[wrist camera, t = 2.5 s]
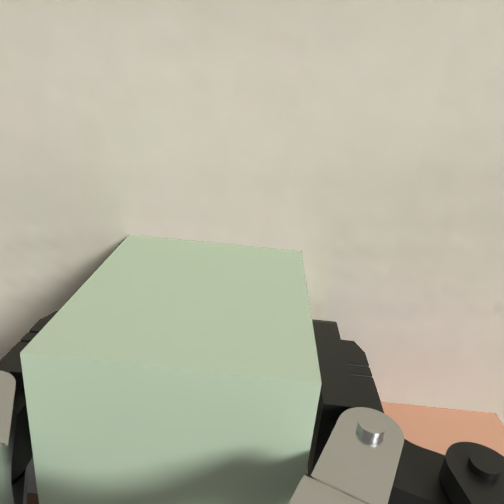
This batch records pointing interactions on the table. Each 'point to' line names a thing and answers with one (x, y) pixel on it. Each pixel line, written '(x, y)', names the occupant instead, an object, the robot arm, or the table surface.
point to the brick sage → (176, 379)
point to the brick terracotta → (446, 426)
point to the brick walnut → (32, 498)
